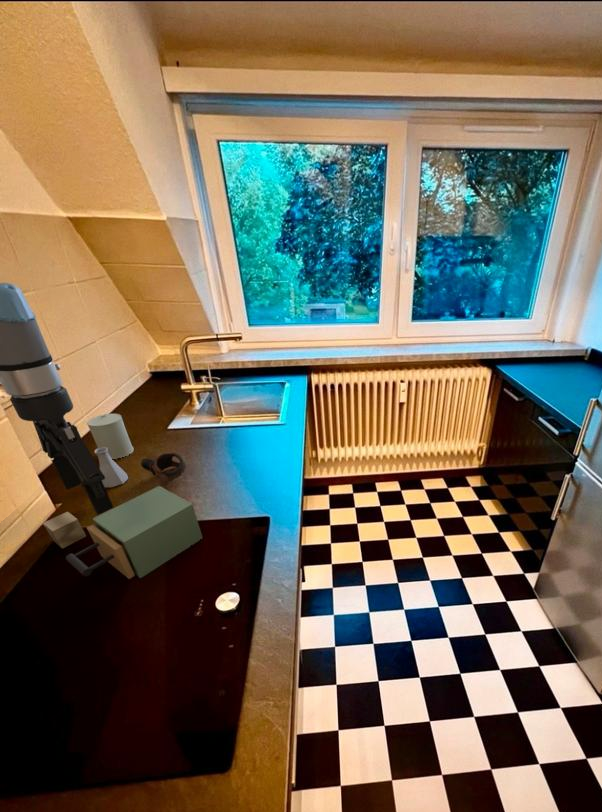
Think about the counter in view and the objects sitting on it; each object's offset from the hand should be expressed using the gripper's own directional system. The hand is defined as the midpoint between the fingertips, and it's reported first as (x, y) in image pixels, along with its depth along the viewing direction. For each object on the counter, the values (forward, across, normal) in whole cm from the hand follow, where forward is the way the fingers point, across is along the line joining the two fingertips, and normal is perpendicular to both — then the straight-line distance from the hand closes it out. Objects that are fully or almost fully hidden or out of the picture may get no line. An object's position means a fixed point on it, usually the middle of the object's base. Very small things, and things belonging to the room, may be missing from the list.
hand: (88, 497), depth 74 cm
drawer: (+15, -3, -2) cm, 15 cm away
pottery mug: (+16, +22, -24) cm, 37 cm away
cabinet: (+16, -3, -7) cm, 18 cm away
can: (+16, +48, -22) cm, 56 cm away
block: (+16, +15, +4) cm, 22 cm away
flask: (+16, +32, -14) cm, 38 cm away
